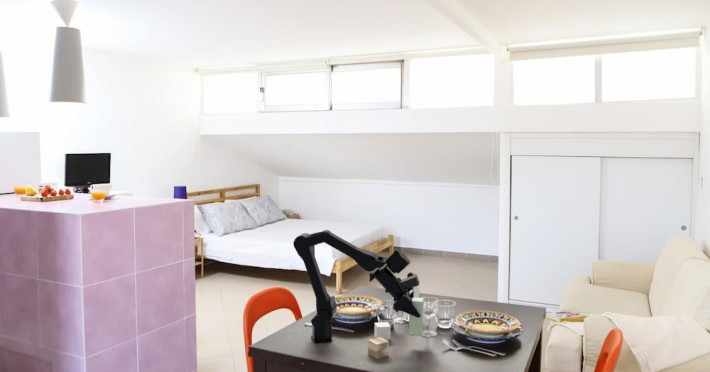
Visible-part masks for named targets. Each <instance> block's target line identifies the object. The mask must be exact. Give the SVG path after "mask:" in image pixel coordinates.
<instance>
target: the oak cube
mask: <svg viewBox="0 0 710 372" xmlns="http://www.w3.org/2000/svg"><path fill="white" fill-rule="evenodd" d="M389 341H390V340H385V339H383V338H381V337H378V338H375V337H374V338H371V339H370V338H369V339H368V341H367V344H368V345H367V354H368V355H369V354H370V355H369V356H371V357H373V358H374V357H375V359H376V360H377V359H381V358H385V357H389V354H390V352H389V351H390V349H389V348H390V346H389V345H390V342H389Z"/></svg>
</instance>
